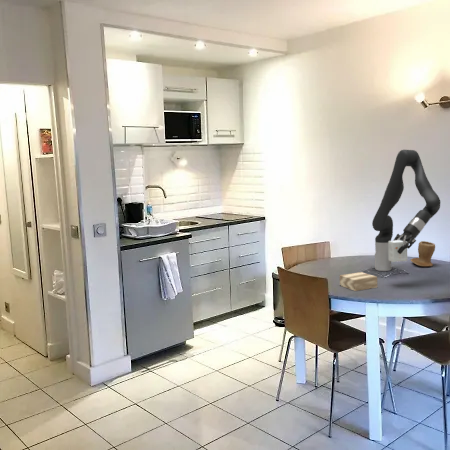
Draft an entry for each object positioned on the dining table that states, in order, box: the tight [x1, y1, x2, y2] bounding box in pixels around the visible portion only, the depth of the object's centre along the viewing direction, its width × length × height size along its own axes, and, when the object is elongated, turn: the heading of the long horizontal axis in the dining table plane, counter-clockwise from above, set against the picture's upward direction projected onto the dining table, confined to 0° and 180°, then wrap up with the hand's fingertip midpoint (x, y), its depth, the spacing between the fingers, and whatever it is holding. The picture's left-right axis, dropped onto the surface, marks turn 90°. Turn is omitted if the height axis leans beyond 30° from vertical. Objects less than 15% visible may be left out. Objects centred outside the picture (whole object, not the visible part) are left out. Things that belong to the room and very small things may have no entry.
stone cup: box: [410, 240, 436, 267], centre depth 314 cm, size 15×12×15 cm
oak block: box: [339, 271, 378, 292], centre depth 272 cm, size 14×14×6 cm
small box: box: [388, 240, 408, 263], centre depth 268 cm, size 8×6×10 cm
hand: (395, 251), depth 267 cm, fingers closed on small box, 6 cm apart
